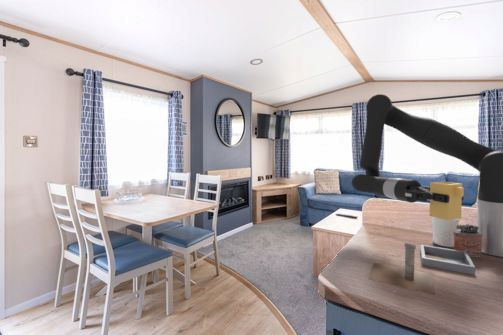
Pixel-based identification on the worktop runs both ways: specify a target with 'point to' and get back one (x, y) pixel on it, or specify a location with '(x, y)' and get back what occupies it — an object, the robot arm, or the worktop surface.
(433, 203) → the yellow open box
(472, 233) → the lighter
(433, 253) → the tray
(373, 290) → the worktop surface
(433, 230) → the white cup
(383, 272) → the board
